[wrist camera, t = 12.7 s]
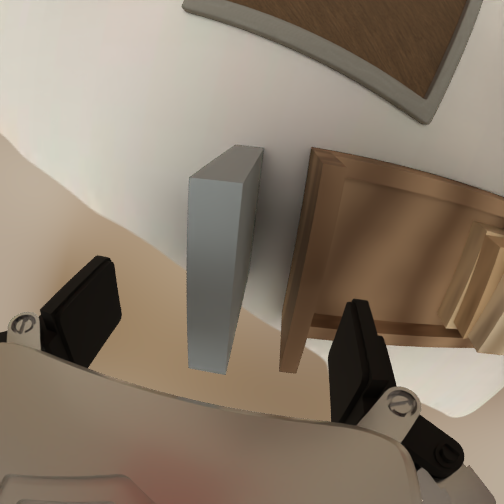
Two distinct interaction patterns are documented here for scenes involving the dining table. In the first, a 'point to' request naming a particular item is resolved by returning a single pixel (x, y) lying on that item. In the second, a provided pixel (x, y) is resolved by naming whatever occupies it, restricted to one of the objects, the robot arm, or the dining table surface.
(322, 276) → the tray
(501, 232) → the offcut bottom
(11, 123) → the dining table surface
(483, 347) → the offcut top
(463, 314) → the offcut middle
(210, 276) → the grey square slab
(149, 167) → the dining table surface
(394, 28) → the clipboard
